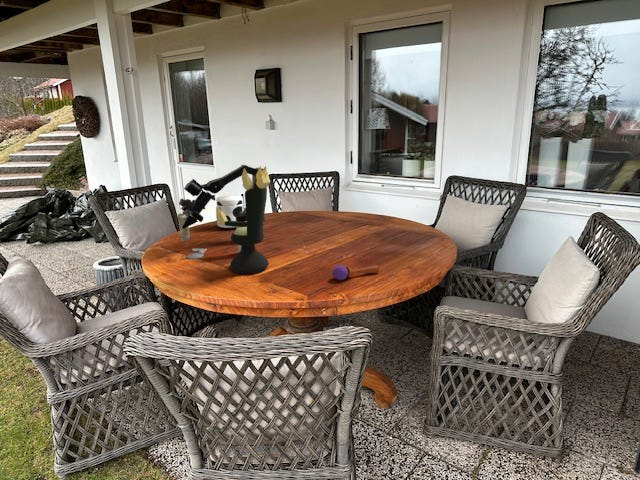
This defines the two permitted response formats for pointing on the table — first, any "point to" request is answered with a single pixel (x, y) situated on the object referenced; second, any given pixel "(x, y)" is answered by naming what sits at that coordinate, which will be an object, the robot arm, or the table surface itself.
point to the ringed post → (184, 232)
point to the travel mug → (242, 219)
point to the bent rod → (200, 250)
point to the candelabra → (249, 225)
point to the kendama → (351, 271)
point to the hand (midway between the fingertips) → (181, 227)
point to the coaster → (195, 256)
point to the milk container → (230, 208)
